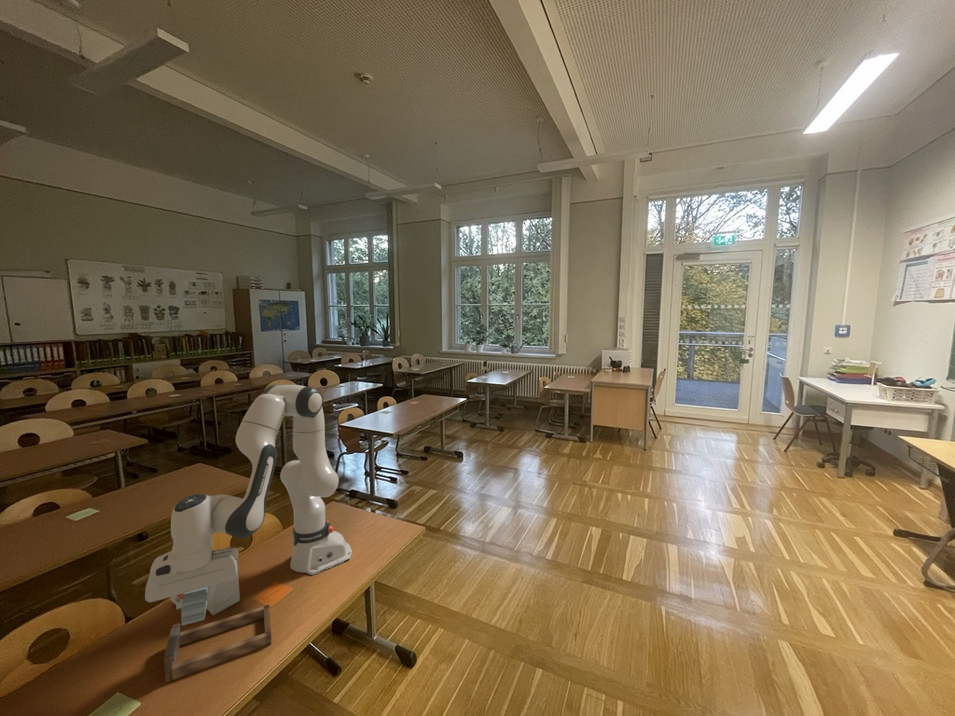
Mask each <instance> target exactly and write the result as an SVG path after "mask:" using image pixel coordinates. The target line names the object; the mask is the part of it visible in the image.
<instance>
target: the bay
mask: <svg viewBox="0 0 955 716" xmlns="http://www.w3.org/2000/svg"><path fill="white" fill-rule="evenodd" d="M270 612H271V611H270V604H266V605H263V606H260V607H257V608H253V609H249V610H247V611H242V612H241V613H238V614H234V615H231V616H229V617H225V618H222V619H219V620H215V621H212V622H210V623H206V624H203V625H200V626H197V627H194V628H189V629H187V630H184V631H181V624H180V623H181V622H178V623H175V624H173V625H172V628H171V629H170V632H169V636H168V641H167V643H166V648H165V651H164V656H163V662H164V664H163V665H164V683H165V684H166V683H168V682H171V681H174V680H177V679H179V678H183V677H186V676H188V675H190V674H193V673H196V672H199V671H202V670H204V669H207V668H210V667H212V666H213V667H214V665H215V666H216V665H218V664H220V663H224V662H227V661H229V660H232V659H235V658H237V657H240V656H243V655H246V654H248V653H250V652H251V653H252V652H254V651H257V650H260V649H262V648H265V647H268V646H270V645H272V628H271V613H270ZM262 619H263V623H264V633H261V634H258V635H255V636H252V637H249V638H246V639H244V640H241V641H238V642H236V643H232V644H229V645H226V646H224V647H220V648H218V649H215V650H213V651H212V650H211V651H210V652H206V653H203V654H200V655H198V656H195V657H192V658H189V659H187V660H184V661H180V662H177V661H178V657H179V651H180V649H181V646H184V645H187V644H189V643H193V642H196V641H199V640H202V639H206V638H208V637H211V636H214V635H217V634H221V633H223V632H226V631H229V630H233V629H235V628H239V627H242V626H244V625H247V624H251V623H254V622H256V621H259V620H262Z"/></svg>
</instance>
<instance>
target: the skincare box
mask: <svg viewBox="0 0 955 716" xmlns="http://www.w3.org/2000/svg"><path fill="white" fill-rule="evenodd" d="M236 562H237V576H236V578H235V579H234V580H231V581H227V582H223V583H220V584H217V587H216V589H215V591H214V592H213V598H212V600H208V601H207V608H206V610H207V611H208V612H209V613H210V614H211V615H212V616H215V615H217V614H218V613H220V612H222V611H224V610H226V609H228V608H229V607H231V606H233V605H234V604H237V603H238V602H240V601H241V597H240V583H239V582H240V581H239V579H240V578H239V561H238V559H237V560H236ZM210 590H211V589H210V586H209V587H208V590H207V592H208V591H210Z"/></svg>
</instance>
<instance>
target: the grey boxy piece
mask: <svg viewBox="0 0 955 716" xmlns="http://www.w3.org/2000/svg"><path fill="white" fill-rule="evenodd" d="M207 590H208V587H205V588H201V589H198V590H194V591H190V592H187V593H184V597H183V601H182V608H181V609H180V610H181V611H180V612H181V616H180V619H181V620H180V623H181V624H180V627H182V626H186V625H188V624H189V625H190V624H193V623H197V622H201V621H204V620H205V618H206V613H207V601H206V592H207Z"/></svg>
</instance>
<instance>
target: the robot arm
mask: <svg viewBox="0 0 955 716" xmlns="http://www.w3.org/2000/svg"><path fill="white" fill-rule="evenodd" d="M323 404H324V397H323V395H322V393H321V391H320V390H319V389H317V387H316V388H315V387H313V386H304V385H300V384H279V383H277V384H272V385H269V386H267V387H266V388H265V389H264V390H263V392H262V393H261V394H260V395H259V396H257V397H256V398H255V399H254V401H253V402H252V403H251V405H250V407H248V410H247V411H246V413H245V415H244V416H243V419H242V420H241V423H240V425H239V427H238V428H237V431H236V435H235V444H236V447H237V448H238V449H239V451H240V452H241V454H242V455H244V456H246V458H247V459H248V460H249V461H250V462H251V465H252V470H251V475H250V478H249V482H248V486H247V489H246V492H245V495H244V497H243V498H241V497H236V496H233V495H230V494H229V495H228V494H224V493H223V494H219V493H218V494H215V495H208V494H205V493H196V494H191V495H188V496H185V497H184V498H182V499H180V500H179V501H178V502H177V503H175V505H174V507H173V509H172V512H171V517H170V519H171V520H170V537H171V539H172V541H173V544H172V548H171V550H170V551H168V552H166V553H164V554H162V555H159V556H157V557H156V558H155V559H154V561H153V562H152V565H151V567H150V570H149V576H148V579H147V582H146V585H145V592H144V595H145V596H144V600H145V601H146V602H147V603H153V602H157V601H160V600H164V599H168V598H170V601H171V602H172V603H173V604H174V605H175V606H176V607H175V609H176V610H181V608H182V601H183V599H179V597H178V596H179V595H180V594H183V593H187V592H190V591H194V590H198V589H201V588H205V587H209V586H210V589H211V590H210V591H208V592H206V601H208V600H212V598H213V592H214V591H215V589H216V587H217V584H220V583H223V582H227V581H231V580H234V579H235V578H236V576H237V562H236V560H238V559H239V549H237V548H236V547H232V546H229V547H226V548H219V549H215V550H214V549H213V536H214V534H216V533H222V534H226V535H228V536H231V537H233V538H235V539H239V540H240V539H241V540H242V539H247V538H248V537H250V536H251V535H253V534H254V533H256V532H257V531H258V530H259V529H260V528H261V526H262V525H263V522H264V521H265V516H266V509H267V508H266V506H267V500H268V496H269V492H270V490H271V489H270V487H271V484H272V481H273V478H274V477H273V476H274V472H275V469H276V464H277V459H278V450H277V448H276V441H277V435H278V433H279V431H280V428H281V426H282V422H283V420H284V418H285V417H293V419H292V449H293V453H294V455H296V458H297V459H295V460H290V461H288V462H287V463H285V465H283V467H282V469H281V471H280V474H279V476H280V481H281V483H282V484H283V485H284V486H285V488H286V490H287V493H288V495H289V499H290V502H291V505H292V509H293V510H292V511H293V529H292V544H293V550H292V555H291V556H292V557H291V560H290V564H289V567H290V569H291V570H293V571H294V572H296V573H304V574H305V573H306V574H308V575H312V576H314V575H316V574H319V573H321V571H322V572H324V571H326V570H328V568H329V569H331V568H333V566H334V567H336V566H338V565H337V564H339V565H341V564H343V563H345V562H344V561H346V560H348V559H350V557H351V555H352V556H353V551H352V547H351V545H350V544H349V543H348V542H347V541H346V540H345V538H344V536H343V535H342V534H341V533H340V532H338V531H335V530H334V527H333V526H332V524H331V523H330V521H329V520H326V504H325V502H324V500H323V499H322V498H328V497H331V496H332V495H333V494H334V493H335V492H336V490H337V489H338V486H339V482H340V480H339V479H340V478H339V475H338V474H337V472H336V471H335V470H334V468H333V466H332V464H331V462H330V459H329V457H328V456H329V455H328V454H327V449H326V429H325V427H326V426H325V424H326V423H325V415H324V409H323ZM349 553H350V554H349ZM348 554H349V555H348ZM351 558H352V557H351ZM350 560H351V559H350ZM348 561H349V560H348ZM342 562H343V563H342ZM346 562H347V561H346ZM340 563H341V564H340ZM335 565H336V566H335ZM325 569H326V570H325ZM323 570H324V571H323Z"/></svg>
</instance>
